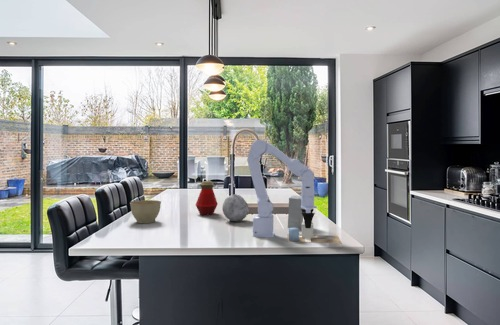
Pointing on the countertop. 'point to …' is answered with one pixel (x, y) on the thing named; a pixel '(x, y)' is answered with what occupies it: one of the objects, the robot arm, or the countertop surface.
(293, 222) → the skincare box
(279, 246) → the countertop surface
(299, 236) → the letter T
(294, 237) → the blue cylinder
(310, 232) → the grey block
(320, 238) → the board
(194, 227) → the countertop surface
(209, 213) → the bottle
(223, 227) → the countertop surface
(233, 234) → the countertop surface
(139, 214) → the planter bowl
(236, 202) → the decorative orb
